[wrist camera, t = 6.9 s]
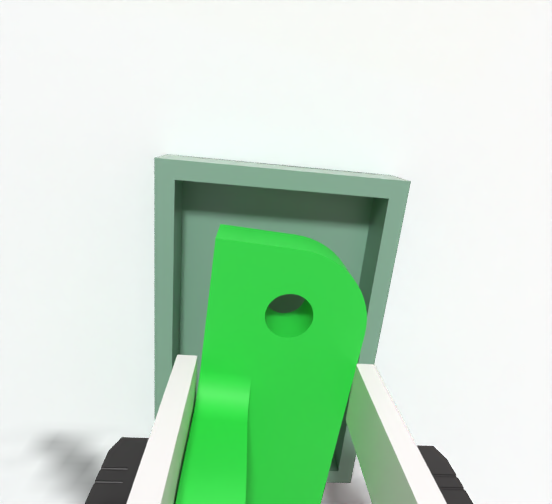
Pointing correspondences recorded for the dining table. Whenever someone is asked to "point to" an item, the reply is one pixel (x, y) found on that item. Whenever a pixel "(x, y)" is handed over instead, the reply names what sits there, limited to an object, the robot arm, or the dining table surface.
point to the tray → (271, 217)
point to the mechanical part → (271, 371)
